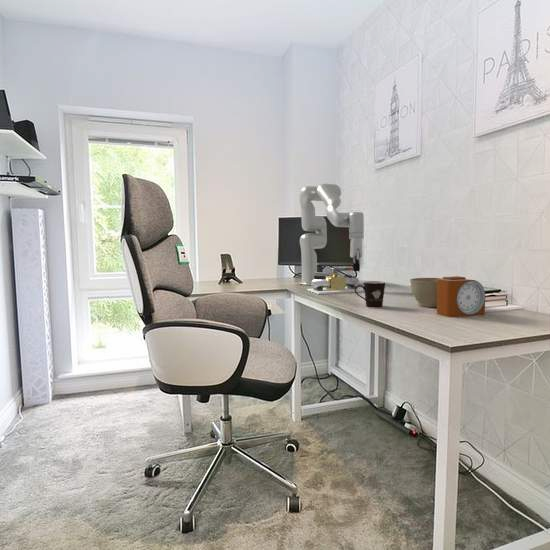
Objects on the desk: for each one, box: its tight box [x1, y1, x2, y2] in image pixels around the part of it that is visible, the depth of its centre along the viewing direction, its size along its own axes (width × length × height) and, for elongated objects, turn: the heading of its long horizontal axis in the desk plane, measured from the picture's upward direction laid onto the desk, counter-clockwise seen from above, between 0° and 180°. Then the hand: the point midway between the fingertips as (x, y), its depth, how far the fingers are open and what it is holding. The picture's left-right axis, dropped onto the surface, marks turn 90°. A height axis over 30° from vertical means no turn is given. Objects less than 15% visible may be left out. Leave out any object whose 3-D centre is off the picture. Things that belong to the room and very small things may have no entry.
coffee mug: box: [354, 280, 386, 308], centre depth 156 cm, size 12×9×10 cm
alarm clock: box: [436, 275, 486, 318], centre depth 137 cm, size 15×8×14 cm, turn 105°
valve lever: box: [331, 266, 353, 272], centre depth 205 cm, size 15×4×2 cm, turn 108°
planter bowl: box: [409, 277, 442, 308], centre depth 154 cm, size 16×16×11 cm
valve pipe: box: [310, 271, 360, 291], centre depth 203 cm, size 7×26×10 cm, turn 107°
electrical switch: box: [314, 271, 331, 280], centre depth 216 cm, size 9×5×9 cm, turn 57°
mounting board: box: [306, 286, 365, 295], centre depth 203 cm, size 16×27×1 cm, turn 107°
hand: (356, 270), depth 200 cm, fingers closed
